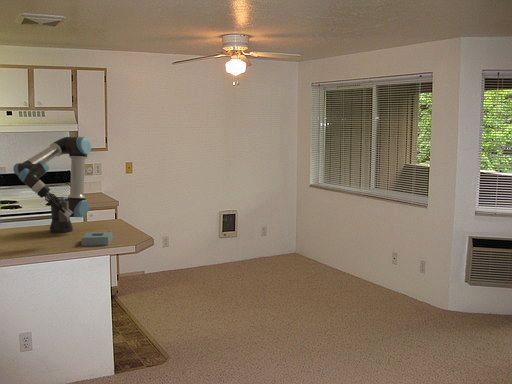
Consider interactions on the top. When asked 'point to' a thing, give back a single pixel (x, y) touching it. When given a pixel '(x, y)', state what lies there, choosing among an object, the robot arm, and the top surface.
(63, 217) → the gray bottle
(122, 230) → the top surface
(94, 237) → the socket
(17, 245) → the top surface
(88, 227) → the top surface
